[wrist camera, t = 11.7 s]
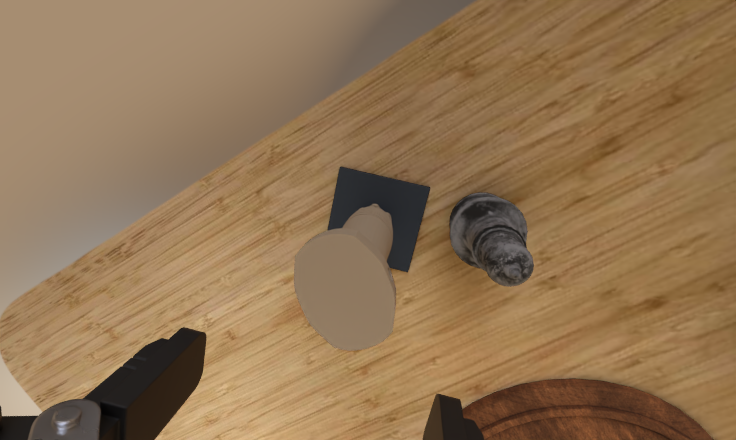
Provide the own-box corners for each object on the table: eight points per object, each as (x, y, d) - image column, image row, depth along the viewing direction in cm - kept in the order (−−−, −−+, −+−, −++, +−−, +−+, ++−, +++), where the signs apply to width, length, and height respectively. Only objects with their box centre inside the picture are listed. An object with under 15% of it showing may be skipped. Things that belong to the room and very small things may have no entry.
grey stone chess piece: (493, 264, 34) (536, 339, 22) (434, 236, 34) (445, 296, 22) (528, 207, 32) (594, 254, 20) (466, 177, 32) (496, 208, 20)
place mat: (340, 166, 33) (339, 167, 33) (429, 187, 32) (430, 187, 32) (324, 250, 35) (323, 251, 35) (408, 270, 35) (407, 272, 34)
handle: (361, 260, 34) (324, 359, 20) (335, 195, 33) (276, 251, 19) (411, 245, 34) (410, 336, 19) (387, 177, 32) (366, 221, 18)
